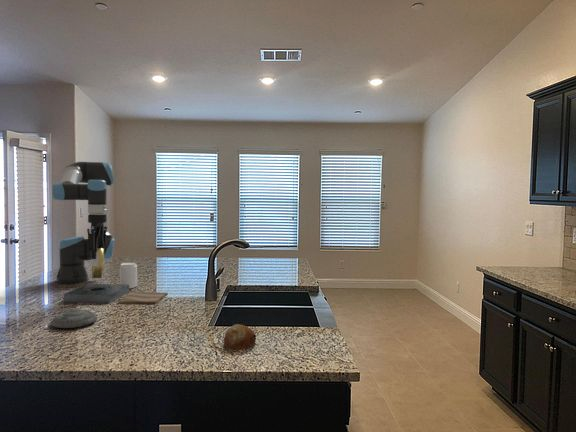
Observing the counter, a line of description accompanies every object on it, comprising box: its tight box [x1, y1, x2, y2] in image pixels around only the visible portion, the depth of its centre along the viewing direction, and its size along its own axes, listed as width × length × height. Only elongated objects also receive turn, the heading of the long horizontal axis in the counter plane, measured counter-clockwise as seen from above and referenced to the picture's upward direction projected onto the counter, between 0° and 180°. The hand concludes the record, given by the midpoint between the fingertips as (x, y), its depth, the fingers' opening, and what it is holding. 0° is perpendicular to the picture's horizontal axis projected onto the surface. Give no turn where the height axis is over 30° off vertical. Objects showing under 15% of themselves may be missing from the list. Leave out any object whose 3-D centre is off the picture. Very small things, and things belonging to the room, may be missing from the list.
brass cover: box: [91, 248, 105, 279], centre depth 181 cm, size 5×5×13 cm
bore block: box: [62, 283, 130, 304], centre depth 181 cm, size 20×20×4 cm
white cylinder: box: [119, 262, 138, 290], centre depth 199 cm, size 8×8×12 cm
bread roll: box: [223, 323, 257, 350], centre depth 127 cm, size 10×10×8 cm
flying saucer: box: [50, 308, 98, 329], centre depth 144 cm, size 15×15×6 cm
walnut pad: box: [118, 291, 169, 305], centre depth 178 cm, size 16×16×1 cm
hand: (97, 264), depth 181 cm, fingers closed on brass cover, 5 cm apart
